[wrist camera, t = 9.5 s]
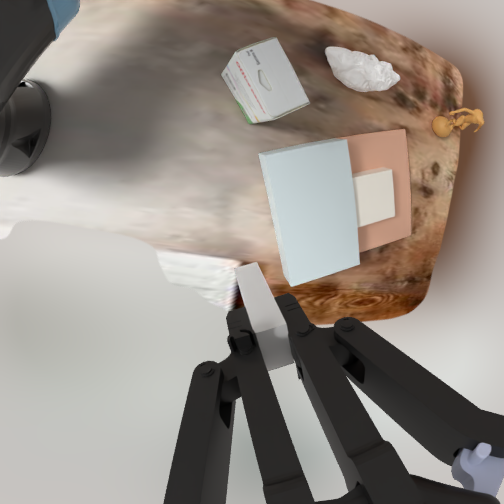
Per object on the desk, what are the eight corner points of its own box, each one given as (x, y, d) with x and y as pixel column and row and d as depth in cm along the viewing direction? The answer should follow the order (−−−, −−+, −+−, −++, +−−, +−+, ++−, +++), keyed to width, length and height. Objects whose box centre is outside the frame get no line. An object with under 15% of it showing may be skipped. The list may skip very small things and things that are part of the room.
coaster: (342, 175, 42) (350, 178, 40) (383, 167, 43) (391, 169, 41) (348, 223, 46) (355, 228, 44) (386, 211, 46) (395, 216, 44)
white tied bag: (309, 63, 37) (325, 97, 31) (328, 24, 31) (351, 49, 25) (372, 88, 40) (398, 126, 34) (393, 55, 34) (425, 88, 28)
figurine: (418, 127, 42) (467, 134, 31) (423, 98, 40) (472, 99, 29) (446, 142, 44) (492, 152, 33) (450, 115, 42) (496, 120, 31)
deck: (258, 153, 39) (264, 155, 36) (334, 138, 40) (346, 139, 37) (283, 274, 48) (291, 286, 44) (348, 254, 49) (359, 264, 45)
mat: (334, 138, 40) (335, 138, 40) (403, 128, 42) (405, 129, 41) (348, 254, 49) (350, 255, 48) (409, 234, 50) (411, 235, 49)
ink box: (220, 74, 34) (230, 51, 23) (253, 59, 34) (275, 34, 23) (248, 125, 38) (270, 122, 27) (280, 110, 37) (313, 103, 27)
